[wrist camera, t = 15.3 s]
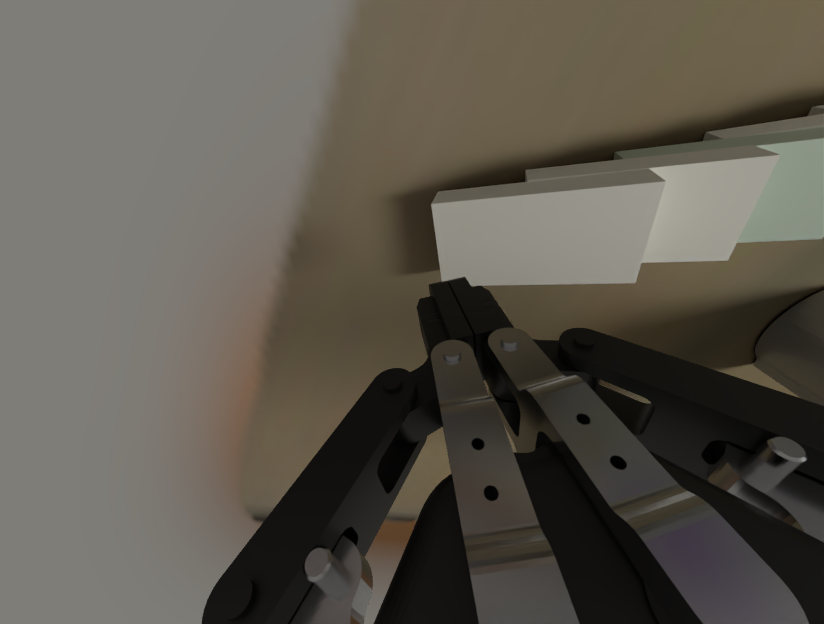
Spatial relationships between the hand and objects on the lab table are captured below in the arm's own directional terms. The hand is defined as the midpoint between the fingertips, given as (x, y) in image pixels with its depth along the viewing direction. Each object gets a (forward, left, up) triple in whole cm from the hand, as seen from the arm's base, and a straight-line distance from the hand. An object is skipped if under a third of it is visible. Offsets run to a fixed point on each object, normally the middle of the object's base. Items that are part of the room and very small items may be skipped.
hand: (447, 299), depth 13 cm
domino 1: (0, -1, -6) cm, 6 cm away
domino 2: (0, -6, -6) cm, 9 cm away
